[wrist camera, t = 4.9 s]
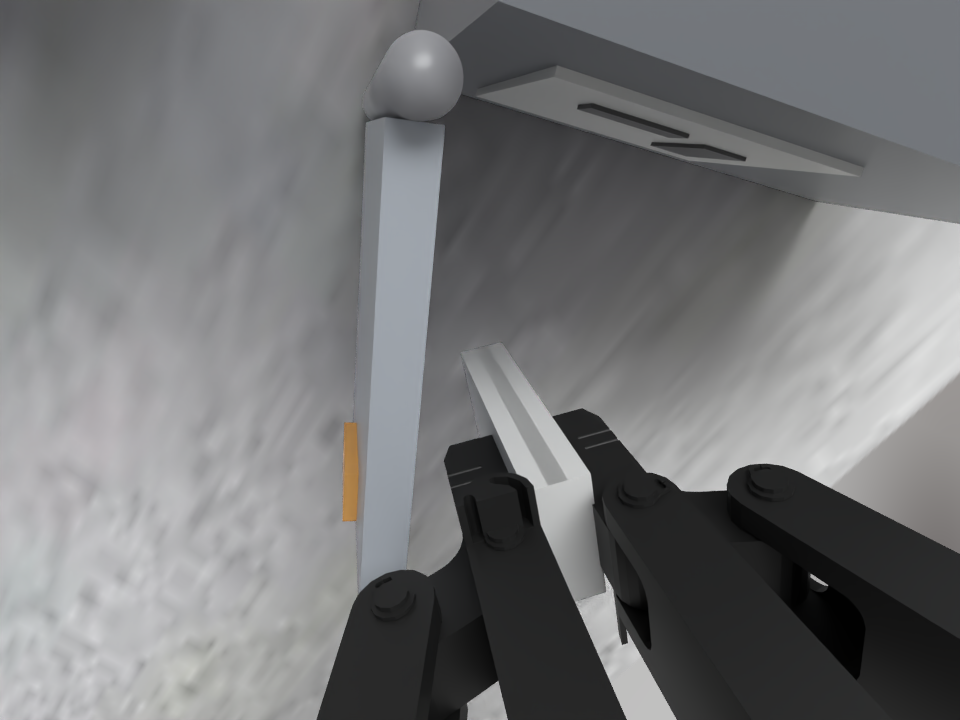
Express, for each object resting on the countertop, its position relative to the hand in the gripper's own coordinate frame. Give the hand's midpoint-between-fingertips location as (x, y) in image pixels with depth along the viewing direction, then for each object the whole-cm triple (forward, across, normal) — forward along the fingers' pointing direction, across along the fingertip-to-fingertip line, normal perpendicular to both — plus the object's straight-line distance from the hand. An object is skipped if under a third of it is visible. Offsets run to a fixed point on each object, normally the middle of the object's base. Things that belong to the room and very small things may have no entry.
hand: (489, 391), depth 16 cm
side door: (+2, -2, +4) cm, 5 cm away
